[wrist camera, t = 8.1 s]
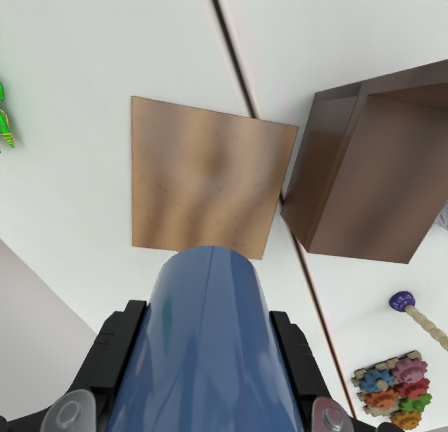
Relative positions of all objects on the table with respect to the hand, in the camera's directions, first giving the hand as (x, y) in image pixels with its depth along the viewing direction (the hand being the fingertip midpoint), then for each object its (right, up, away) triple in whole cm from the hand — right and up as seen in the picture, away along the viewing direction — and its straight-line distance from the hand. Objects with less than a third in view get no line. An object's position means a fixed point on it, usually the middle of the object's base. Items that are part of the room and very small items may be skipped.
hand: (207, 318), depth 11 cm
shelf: (+16, +12, +19) cm, 27 cm away
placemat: (-1, +8, +19) cm, 21 cm away
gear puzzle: (+43, -40, +44) cm, 73 cm away
